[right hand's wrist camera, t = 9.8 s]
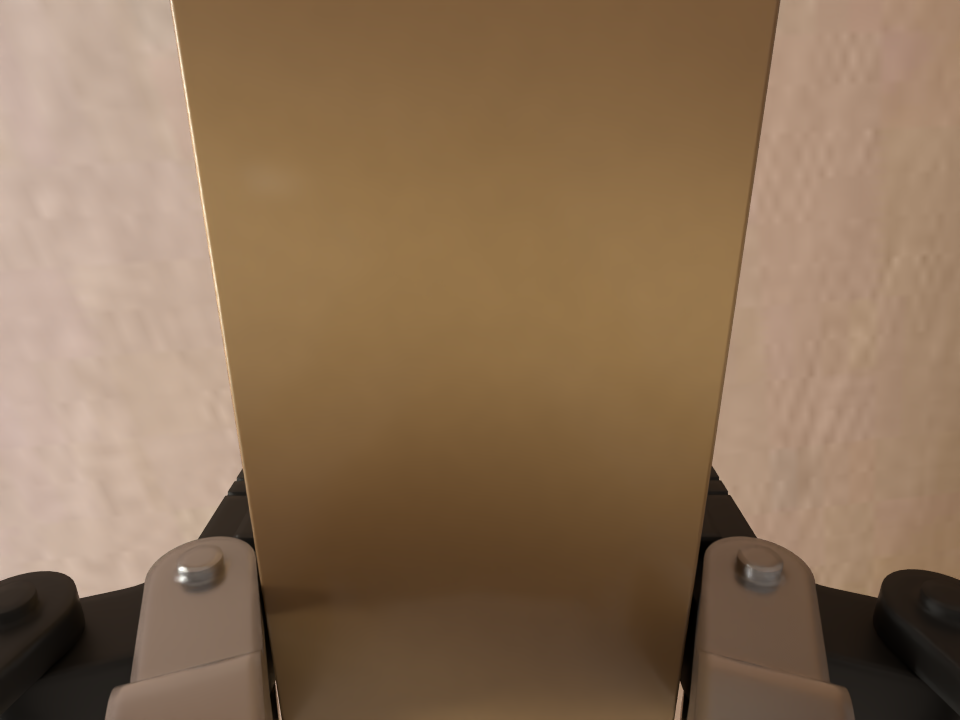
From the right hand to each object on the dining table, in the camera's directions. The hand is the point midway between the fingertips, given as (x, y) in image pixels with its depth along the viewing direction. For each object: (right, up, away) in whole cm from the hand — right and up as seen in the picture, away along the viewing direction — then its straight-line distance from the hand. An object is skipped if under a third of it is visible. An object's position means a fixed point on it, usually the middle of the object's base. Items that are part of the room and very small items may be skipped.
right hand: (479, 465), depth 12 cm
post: (0, -18, +12) cm, 21 cm away
